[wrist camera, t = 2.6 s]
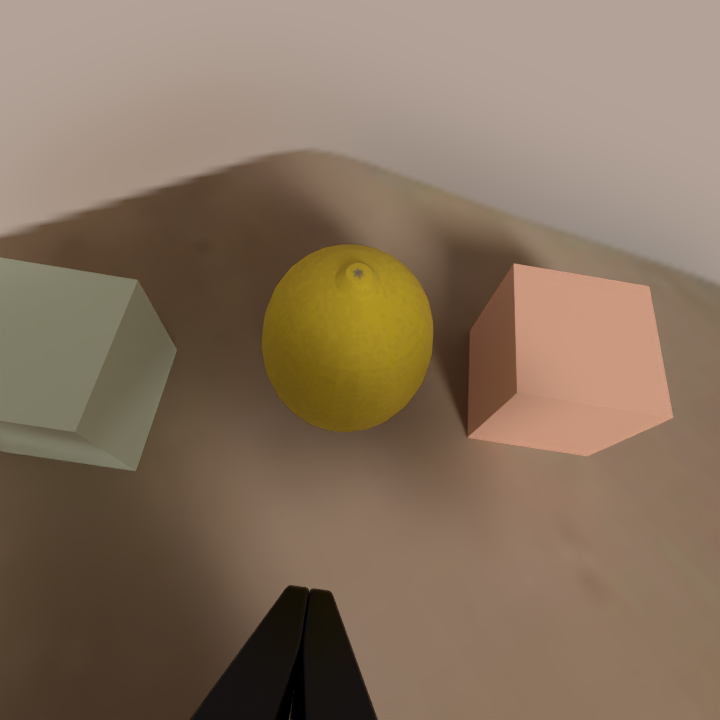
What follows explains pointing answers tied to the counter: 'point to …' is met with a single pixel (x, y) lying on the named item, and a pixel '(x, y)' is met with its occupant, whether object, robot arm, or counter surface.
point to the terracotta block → (565, 363)
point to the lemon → (347, 337)
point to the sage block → (78, 365)
